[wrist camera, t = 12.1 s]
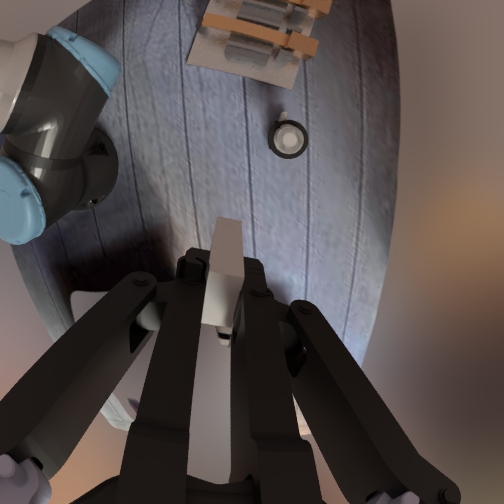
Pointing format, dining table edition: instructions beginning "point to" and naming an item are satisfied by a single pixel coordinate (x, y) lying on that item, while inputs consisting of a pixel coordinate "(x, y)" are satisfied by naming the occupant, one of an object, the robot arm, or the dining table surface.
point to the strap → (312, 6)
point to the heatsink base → (218, 41)
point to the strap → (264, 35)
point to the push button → (287, 138)
